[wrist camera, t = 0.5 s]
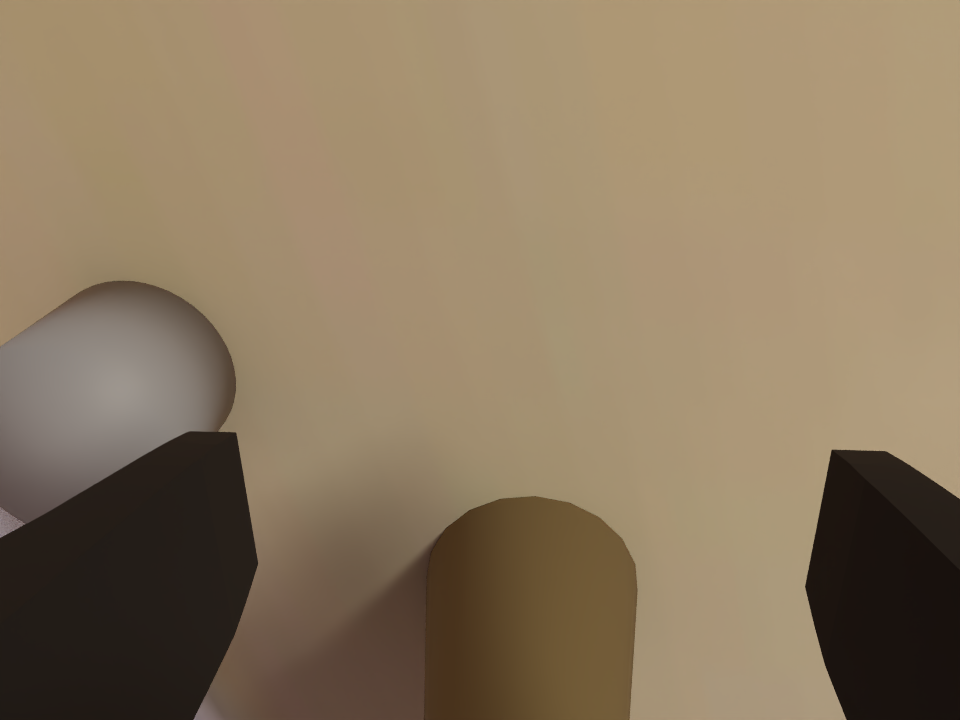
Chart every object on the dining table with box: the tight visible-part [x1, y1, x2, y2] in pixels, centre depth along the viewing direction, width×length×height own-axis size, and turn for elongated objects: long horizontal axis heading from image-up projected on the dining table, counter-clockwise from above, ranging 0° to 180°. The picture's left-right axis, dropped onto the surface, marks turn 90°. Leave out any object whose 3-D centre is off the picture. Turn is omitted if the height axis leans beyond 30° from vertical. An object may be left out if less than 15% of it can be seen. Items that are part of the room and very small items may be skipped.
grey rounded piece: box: [0, 281, 236, 524], centre depth 20 cm, size 5×5×4 cm
